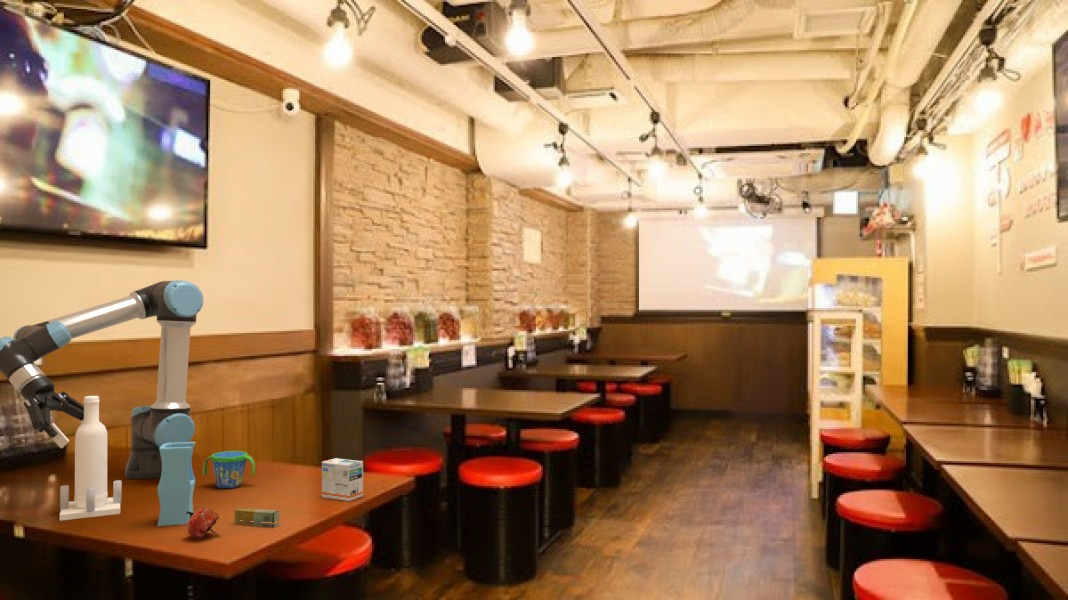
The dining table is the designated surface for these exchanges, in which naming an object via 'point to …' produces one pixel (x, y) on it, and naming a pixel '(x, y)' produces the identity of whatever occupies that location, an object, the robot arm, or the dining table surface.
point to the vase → (176, 483)
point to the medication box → (256, 517)
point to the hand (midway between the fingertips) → (82, 440)
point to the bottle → (91, 456)
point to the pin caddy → (90, 503)
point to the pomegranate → (201, 522)
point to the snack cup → (229, 468)
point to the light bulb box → (342, 478)
